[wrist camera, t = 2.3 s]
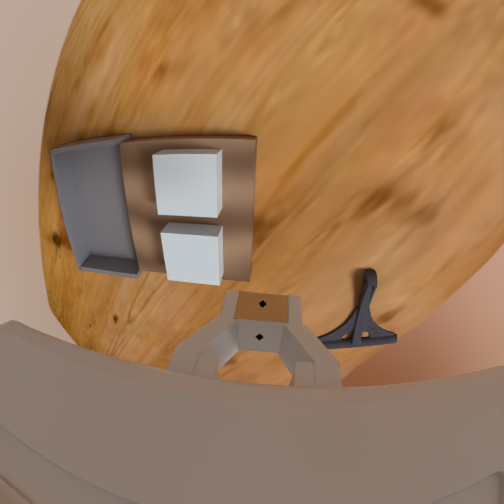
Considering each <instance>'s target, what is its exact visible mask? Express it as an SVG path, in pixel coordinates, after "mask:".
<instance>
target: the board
mask: <svg viewBox="0 0 504 504" xmlns="http://www.w3.org/2000/svg"><path fill="white" fill-rule="evenodd" d="M167 149H222V209H221V211H220V213H219V215H218V217H217V218H211V217H194V216H176V215H158V210H157V202H156V192H155V182H154V171H153V158H152V155H153V154H155V153H157V152H159V151H161V150H167ZM120 152H121V162H122V171H123V179H124V187H125V194H126V201H127V207H128V213H129V219H130V225H131V230H132V236H133V241H134V246H135V251H136V255H137V260H138V264H139V269H140V270H143V271H152V272H160V273H167V272H166V266H165V260H164V253H163V247H162V240H161V231H162V230H163V229H164V227H165V226H166V225H167V224H168V222H173V223H190V224H206V225H221V226H223V267H224V273H223V276H222V279H225V280H236V281H246V282H249V281H250V275H251V270H252V247H253V223H254V199H255V175H256V152H257V136H234V135H186V136H162V137H147V138H134V139H129V140H127V141H124V142H121V143H120Z"/></svg>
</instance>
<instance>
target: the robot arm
mask: <svg viewBox="0 0 504 504" xmlns="http://www.w3.org/2000/svg"><path fill="white" fill-rule="evenodd" d="M238 349H239V350H252V351H263V352H272V353H279V355H280V357H281V359H282V360H283V362H284V363H285V365H286V367H287V368H288V370H289V372H290V373H291V375H292V378H291V381H290V385H289V386H279V385H266V384H254V383H245V382H236V381H228V380H220V375H219V369H220V368H221V367H222V366H223V365H224V364H225V363H226V362H227V361H228V360H229V359H230V358H231V357H232V356H233V355H234V354H235V353H236V352H237V351H238ZM258 349H259V350H258ZM0 504H504V366H497V367H493V368H489V369H486V370H481V371H477V372H473V373H468V374H463V375H458V376H453V377H447V378H441V379H434V380H428V381H420V382H412V383H403V384H392V385H380V386H362V387H361V386H360V387H342V382H341V374H340V365H339V361H338V360H337V359H336V358H335V357H334V356H333V355H332V354H331V352H330V351H329V350H328V349H327V348H326V347H325V346H324V345H323V343H322V342H321V341H320V340H319V339H318V338H317V337H316V336H315V334H314V333H313V332H312V331H311V330H310V329H309V328H308V327H307V325H302V308H301V297H300V296H291V295H288V296H287V295H273V294H262V293H253V292H244V291H234V290H227V292H226V295H225V299H224V303H223V306H222V310H221V314H220V317H215V318H214V319H212V320H211V321H210V322H208V323H207V324H206V325H204V326H203V327H202V328H200V329H199V330H198V331H196V332H195V333H193V334H192V335H191V336H189V337H188V338H187V339H185V340H184V341H183V342H181V343H180V344H178V345H177V346H176V347H175V350H174V352H173V355H172V358H171V360H170V363H169V366H168V368H167V370H164V369H159V368H154V367H150V366H146V365H142V364H138V363H134V362H130V361H126V360H122V359H119V358H115V357H112V356H108V355H105V354H102V353H98V352H95V351H92V350H89V349H86V348H83V347H80V346H77V345H74V344H71V343H68V342H66V341H63V340H60V339H58V338H55V337H52V336H50V335H47V334H45V333H42V332H40V331H38V330H35V329H33V328H31V327H28V326H26V325H24V324H22V323H20V322H17V321H14V320H11V321H8V322H6V323H3V324H1V325H0Z"/></svg>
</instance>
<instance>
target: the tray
mask: <svg viewBox="0 0 504 504" xmlns="http://www.w3.org/2000/svg"><path fill="white" fill-rule="evenodd" d="M129 139H131V134H123V135H115V136H107V137H100V138H93V139H87V140H81V141H75V142H70V143H66V144H63V145H61V146H58V147H56V148H53V149H51V150H50V154H51V161H52V167H53V173H54V179H55V184H56V189H57V194H58V199H59V203H60V208H61V212H62V216H63V220H64V224H65V227H66V231H67V235H68V238H69V241H70V245H71V248H72V251H73V254H74V257H75V260H76V263H77V266H78V269H79V270H84V271H90V272H97V273H103V274H110V275H116V276H123V277H130V278H137V279H138V277H139V276H140V274H141V273H142V271H143V270H140V269H139V264H138V260H137V255H136V251H135V246H134V241H133V236H132V230H131V225H130V219H129V213H128V207H127V201H126V194H125V187H124V179H123V171H122V162H121V152H120V143H121V142H124V141H127V140H129Z"/></svg>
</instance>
